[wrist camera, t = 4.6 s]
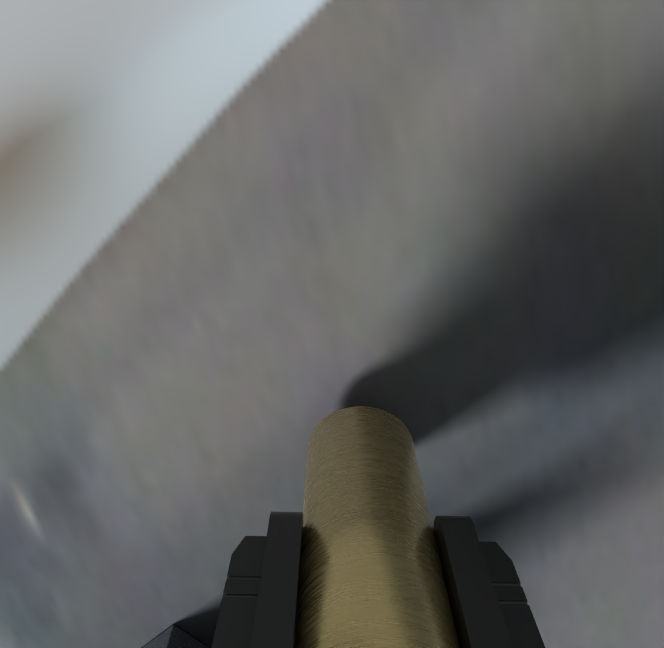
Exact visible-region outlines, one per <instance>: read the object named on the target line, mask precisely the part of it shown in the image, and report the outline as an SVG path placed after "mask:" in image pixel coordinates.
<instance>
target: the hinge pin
mask: <svg viewBox="0 0 664 648" xmlns="http://www.w3.org/2000/svg"><path fill="white" fill-rule="evenodd" d="M295 648H460V646H459V642H458V637H457V633H456V628H455V624H454V620H453V615H452V611H451V606H450V602H449V598H448V593H447V589H446V584H445V580H444V576H443V571H442V567H441V562H440V558H439V554H438V549H437V545H436V540H435V536H434V532H433V527H432V523H431V518H430V514H429V509H428V505H427V501H426V496H425V492H424V487H423V483H422V479H421V474H420V470H419V466H418V461H417V457H416V452H415V448H414V444H413V440H412V437H411V434H410V432H409V430H408V429H407V427H406V426H405V425H404V424H403V423H402V421H400V420H399V419H398V418H397V417H396V416H394V415H392V414H391V413H389V412H387V411H384V410H381V409H378V408H374V407H367V406H356V407H349V408H345V409H341V410H339V411H336V412H334V413H332V414H330V415H329V416H327V417H326V418H325V419H323V420H322V421H321V422H320V423H319V424H318V425H317V426H316V428H315V429H314V431H313V432H312V434H311V437H310V439H309V443H308V449H307V462H306V476H305V489H304V503H303V538H302V553H301V567H300V581H299V596H298V610H297V624H296V639H295Z"/></svg>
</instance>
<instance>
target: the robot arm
mask: <svg viewBox="0 0 664 648" xmlns="http://www.w3.org/2000/svg"><path fill="white" fill-rule="evenodd" d="M433 532H434V536H435V540H436V545H437V549H438V554H439V558H440V562H441V567H442V571H443V576H444V580H445V584H446V589H447V593H448V598H449V602H450V606H451V611H452V615H453V620H454V624H455V628H456V633H457V637H458V642H459V646H460V648H545V646H544V643H543V641H542V638H541V635H540V633H539V630H538V628H537V625H536V622H535V620H534V617H533V614H532V612H531V609H530V607H529V605H528V604H527V599H526V596H525V593H524V591H523V588H522V587H521V586H520V580H519V578H518V575H517V573H516V570H515V567H514V565H513V562H512V560H511V559H510V558H509V557H508V556H507V555H506V553H505V552H504V551H503V550H502V549H501V548H500V547H499V545H498V544H497V543H496V542H479V540H478V537H477V534H476V531H475V528H474V525H473V522H472V520H471V518H470V517H469V516H436V517H435V521H434V528H433ZM302 538H303V512H271V513H270V519H269V526H268V532H267V536H245V537H244V539H243V540H242V541H241V543H240V544H239V545H238V547H237V548H236V550H235V551H234V552H233V554H232V556H231V561H230V565H229V570H228V574H227V580H226V583H225V588H224V593H223V598H222V602H221V606H220V611H219V615H218V620H217V624H216V629H215V633H214V638H213V642H212V647H211V648H295V639H296V624H297V610H298V596H299V581H300V567H301V553H302Z"/></svg>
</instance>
